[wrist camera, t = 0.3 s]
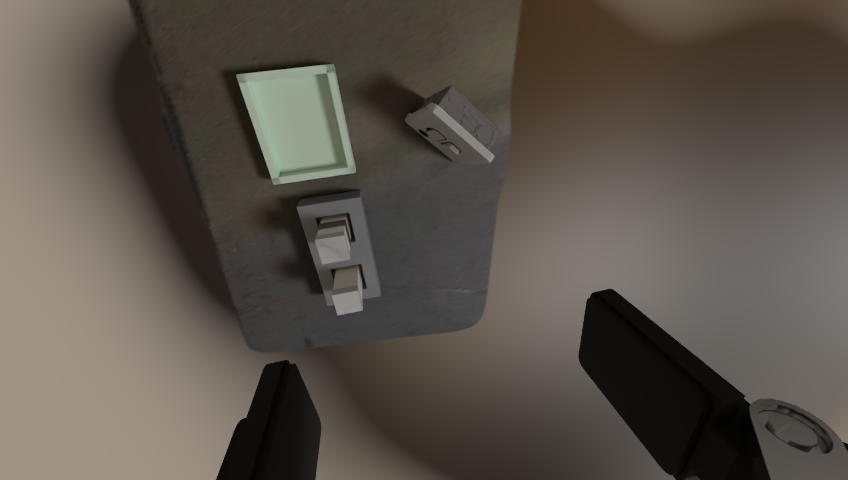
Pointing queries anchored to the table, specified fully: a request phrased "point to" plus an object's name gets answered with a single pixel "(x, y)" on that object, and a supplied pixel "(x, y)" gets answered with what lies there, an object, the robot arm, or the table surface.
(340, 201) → the block
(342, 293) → the block
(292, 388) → the robot arm
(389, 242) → the table surface
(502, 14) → the table surface
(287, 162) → the parts tray
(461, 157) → the electrical switch
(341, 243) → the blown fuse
